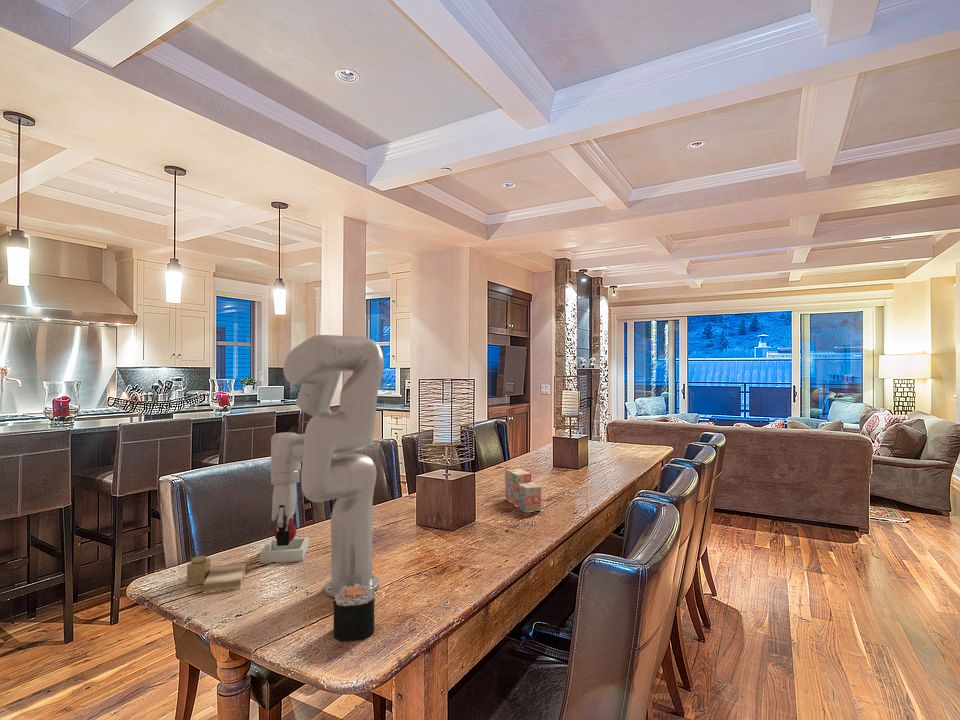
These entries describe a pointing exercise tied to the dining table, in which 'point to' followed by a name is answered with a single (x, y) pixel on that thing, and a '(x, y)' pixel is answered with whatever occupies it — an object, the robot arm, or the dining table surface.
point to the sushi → (354, 613)
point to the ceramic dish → (284, 551)
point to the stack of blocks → (522, 490)
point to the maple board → (225, 577)
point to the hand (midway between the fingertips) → (285, 540)
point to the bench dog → (198, 570)
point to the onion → (291, 530)
